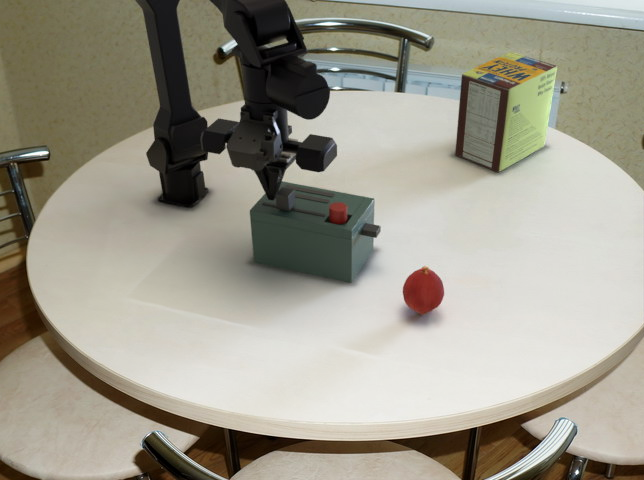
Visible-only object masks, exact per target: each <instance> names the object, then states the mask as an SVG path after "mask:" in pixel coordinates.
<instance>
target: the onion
mask: <svg viewBox="0 0 644 480" xmlns="http://www.w3.org/2000/svg"><path fill="white" fill-rule="evenodd" d="M402 296H403V301H404V303H405V304H406V305H407V306H408V308H409V309H411V310H412V311H414V312H416V313H417V314H419V315H423V316H424V315H426V314H428V313H430V312H432V311H435V309H438V307H439V306H440V305H441V304H442V302H443V300H444V297H445V286H444V283H443V279H441V277H440V276H439V275H438V274H437V273H436V272H435V271H433V269H430V268H429V267H428V266H426V265H423V266H422V267H421V268H419V269H417V270H414V271H413V272H412V273H410V274H409V275H408V276H407V278H406V279H405V281H404V283H403V286H402Z"/></svg>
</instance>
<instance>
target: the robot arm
mask: <svg viewBox="0 0 644 480" xmlns="http://www.w3.org/2000/svg"><path fill="white" fill-rule="evenodd" d="M134 1H135V2H136V4H137V5H138V6H139V7H140V8H141V10H142V13H143V18H144V24H145V30H146V36H147V41H148V42H147V43H148V46H149V52H150V58H151V63H152V69H153V73H154V80H155V85H156V92H157V97H158V103H159V108H158V110H157V114H156V116H155V119H154V122H153V125H152V127H153V136H154V141H153V142H151V144H150V146H149V148H148V150H147V151H146V153H145V154H146V158H147V161H148V165H149V166H150V167H151V168H153V169H155V170H156V171H157V172H158V173H159V174H158V175H159V180H160V186H161V192H162V193H161V194H160V195H159V196H158V197H157V201H159V202H160V203H161V202H162V203H165V204H171V205H176V206H181V207H187V208H192V207H194V206H195V205H196V204H197V203H198V202H199V201H200V200H201V199H202V198H203V197H204V196H205V195H206V194H207V193H209V188H208V187H206V182H205V175H204V171H203V170H202V167H201V162H203V161H204V162H205V161H208V159H209V158H208V157H209V153H210V154H215V155H221V154H222V153H223V152H224V151H225V150H227V153H228V157H229V159H230V164H231V165H232V166H233V167H234V168H238V169H239V168H244V169H249V170H251V171H253V173H254V174H255V175H256V177H257V179H258V181H259V182H260V185H261V187H262V189H263V191H264V194H266V196H267V198H268V200H272V201H273V200H274V199H275V198H276V193H277V192H278V190H279V188H280V185H281V182H282V181H283V179H284V176H285V175H286V171H287V169H288V168H289V167H290V166H291V165H293V163H294V162H295V164H296V166H298V167H299V169H301V170H303V171H310V172H315V173H323V172H325V171H326V169H328V167H330V165H331V164H332V162H333V161H334V160H335V159H336V158H337V157H338V144H337V142H336V141H335V140H334V138H333V137H330V136H325V135H324V136H323V135H319V134H312V133H310V134H309V135H308V136H306V137H305V138H304V139H303V141H299V139H296V138H290V137H289V136H291V134H293V126H292V125H289V118H288V112H289V113H291V114H294V115H295V116H297V117H300V118H302V119H303V120H307V121H308V120H309V121H310V120H311V121H312V120H315V119H316V118H318V117H320V116H321V115H322V114H323V113H324V111H325V110H326V108H327V106H328V104H329V101H330V96H331V87H330V86H329V84H328V81H327V79H326V77H325V76H323V75H322V74H320V73H318V66H317V64H316V63H315V62H312V61H309V60H304V59H302V58H301V57H300V56H303V55H306V54H308V48H307V46H306V44H305V41H304V40H305V37H304V35H303V33H302V32H301V30H300V28H299V26H298V25H297V21H296V20H295V18H294V15H293V13H292V11H291V10H292V9H291V8H290V6H289V4H288V3H287V2H288V1H286V0H209V2H210V3H211V4H212V5H214V6H215V7H216V8H217V9H218V11H219V12H220V14H222V21H223V27H224V29H225V30H226V31H227V33H228V34H229V35H230V37H232V39H233V40H234V41H235V43H236V45H235V46H234V47H233V48H232V49H231V54H232V55H233V56H235V57H237V58H240V61H241V75H242V86H243V87H242V88H243V99H244V104H243V105H242V106H241V107H240V112H239V116H240V117H239V118H240V119H239V121H236V120H231V119H230V120H229V119H224V118H220V117H219V118H217V119H215V121H213V122H212V123H211V124H210V125H208V120H207V119H206V117H205V116H202V115H201V114H200V113H199V111H198V110H196V108H195V107H194V106H193V102H192V96H191V91H190V85H189V78H188V72H187V71H188V70H187V65H186V58H185V53H184V45H183V39H182V33H181V28H180V20H179V14H178V7H179V3H180V1H181V0H134ZM283 40H286V42H285V43H281V44H277V45H273V46H271V47H268V46H266V45H270V44H274V43H277V42H281V41H283Z"/></svg>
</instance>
